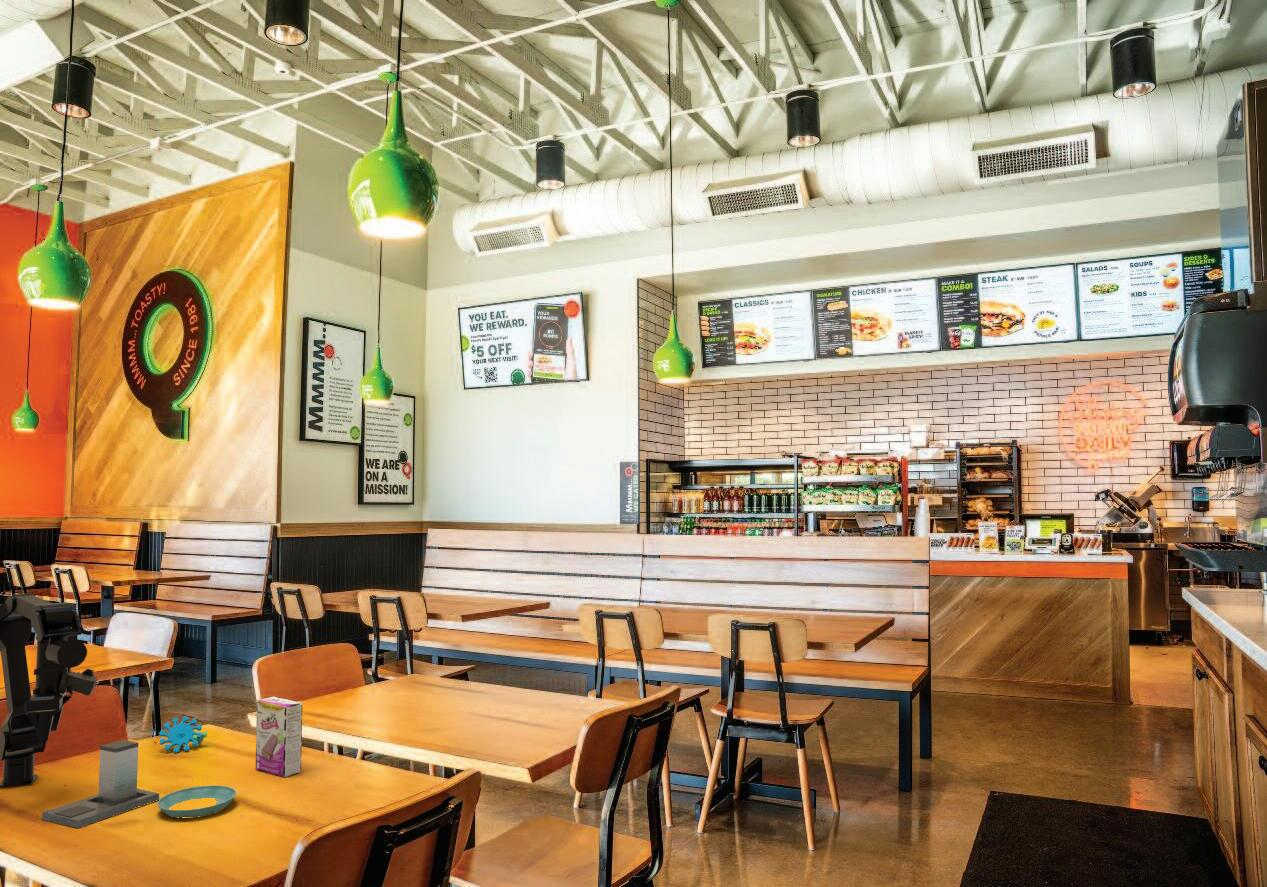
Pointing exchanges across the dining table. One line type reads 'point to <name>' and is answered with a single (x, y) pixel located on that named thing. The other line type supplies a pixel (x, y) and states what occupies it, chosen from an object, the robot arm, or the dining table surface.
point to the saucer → (217, 792)
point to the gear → (182, 734)
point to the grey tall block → (118, 772)
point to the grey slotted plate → (94, 809)
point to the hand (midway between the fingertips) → (49, 735)
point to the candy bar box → (279, 736)
